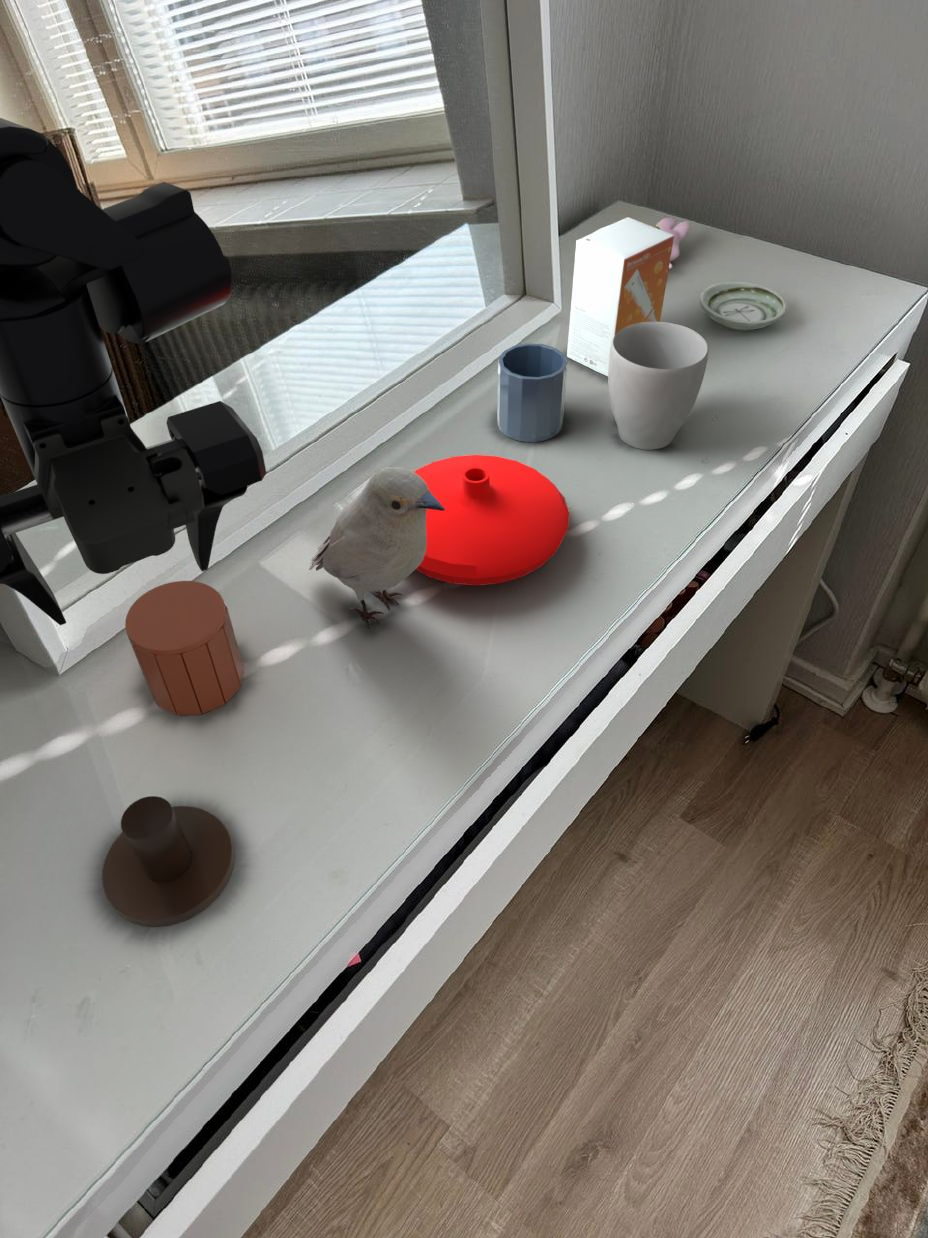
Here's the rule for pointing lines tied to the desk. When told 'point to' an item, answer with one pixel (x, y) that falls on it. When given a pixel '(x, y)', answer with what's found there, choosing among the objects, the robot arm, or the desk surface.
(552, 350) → the slate cup
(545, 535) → the red disc with nozzle
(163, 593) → the orange ribbed cylinder
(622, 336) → the mug
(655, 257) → the small box
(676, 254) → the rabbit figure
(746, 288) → the saucer
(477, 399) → the desk surface
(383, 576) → the bird
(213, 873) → the holder
